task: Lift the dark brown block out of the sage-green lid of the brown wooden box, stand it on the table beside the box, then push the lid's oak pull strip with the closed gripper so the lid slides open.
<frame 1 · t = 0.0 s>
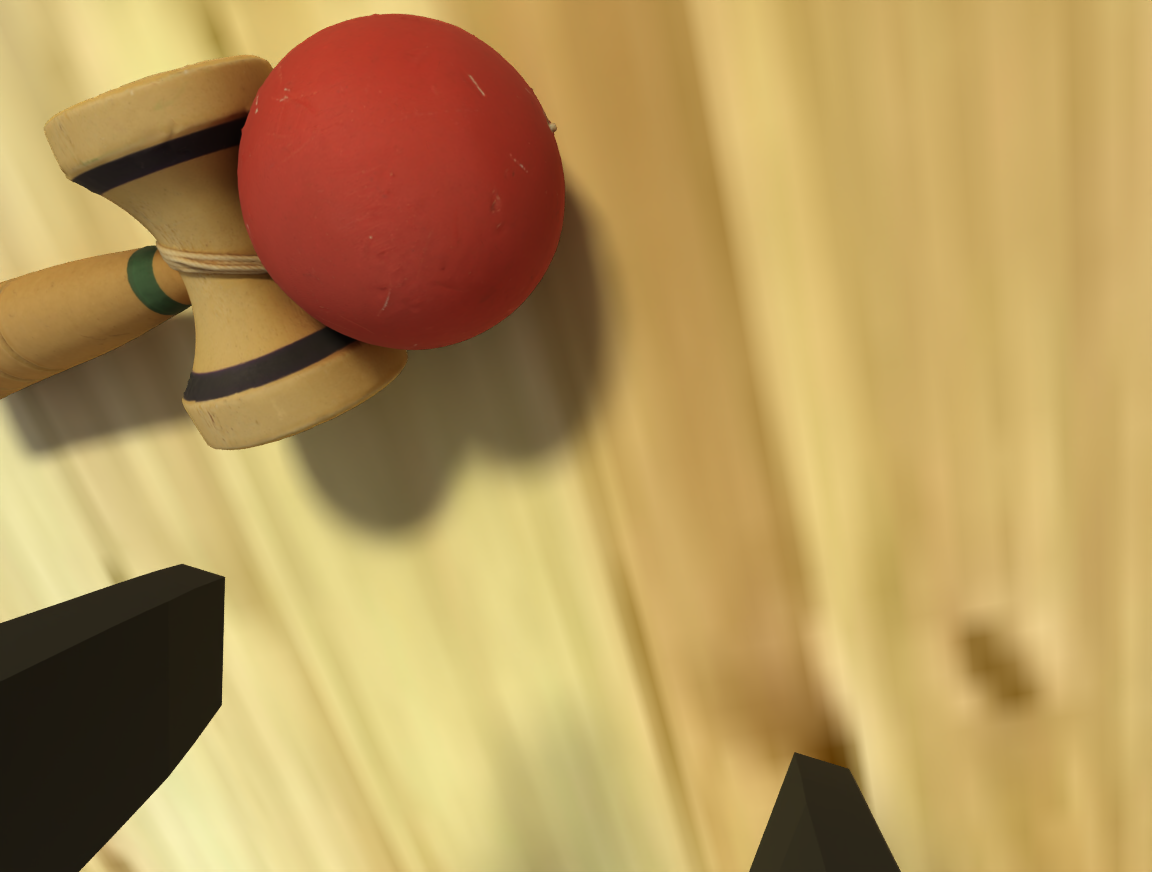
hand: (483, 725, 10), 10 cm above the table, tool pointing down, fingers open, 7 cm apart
kendama: (253, 265, 20), on the table
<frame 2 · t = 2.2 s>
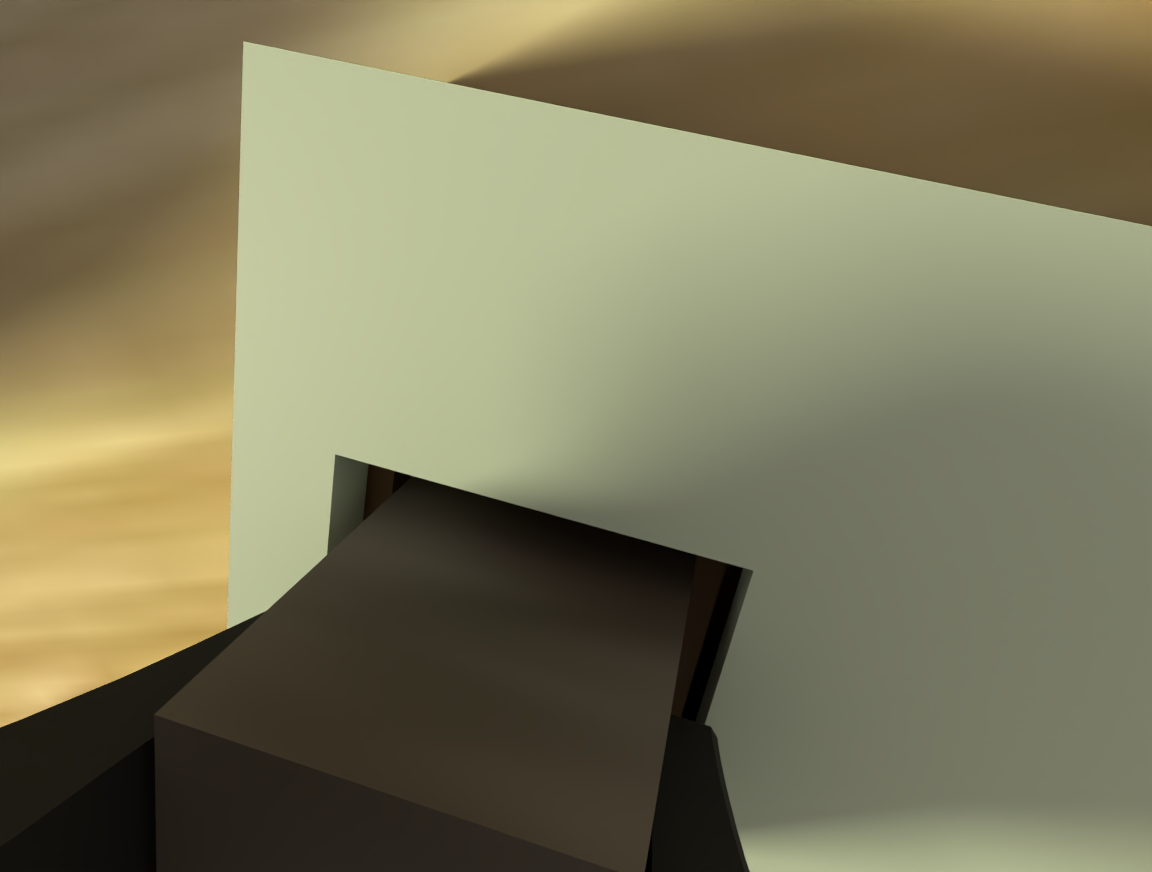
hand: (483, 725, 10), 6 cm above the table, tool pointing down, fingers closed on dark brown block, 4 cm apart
brown wooden box: (846, 578, 15), on the table
dark brown block: (544, 600, 12), point 3 cm above the table, touching gripper, brown wooden box
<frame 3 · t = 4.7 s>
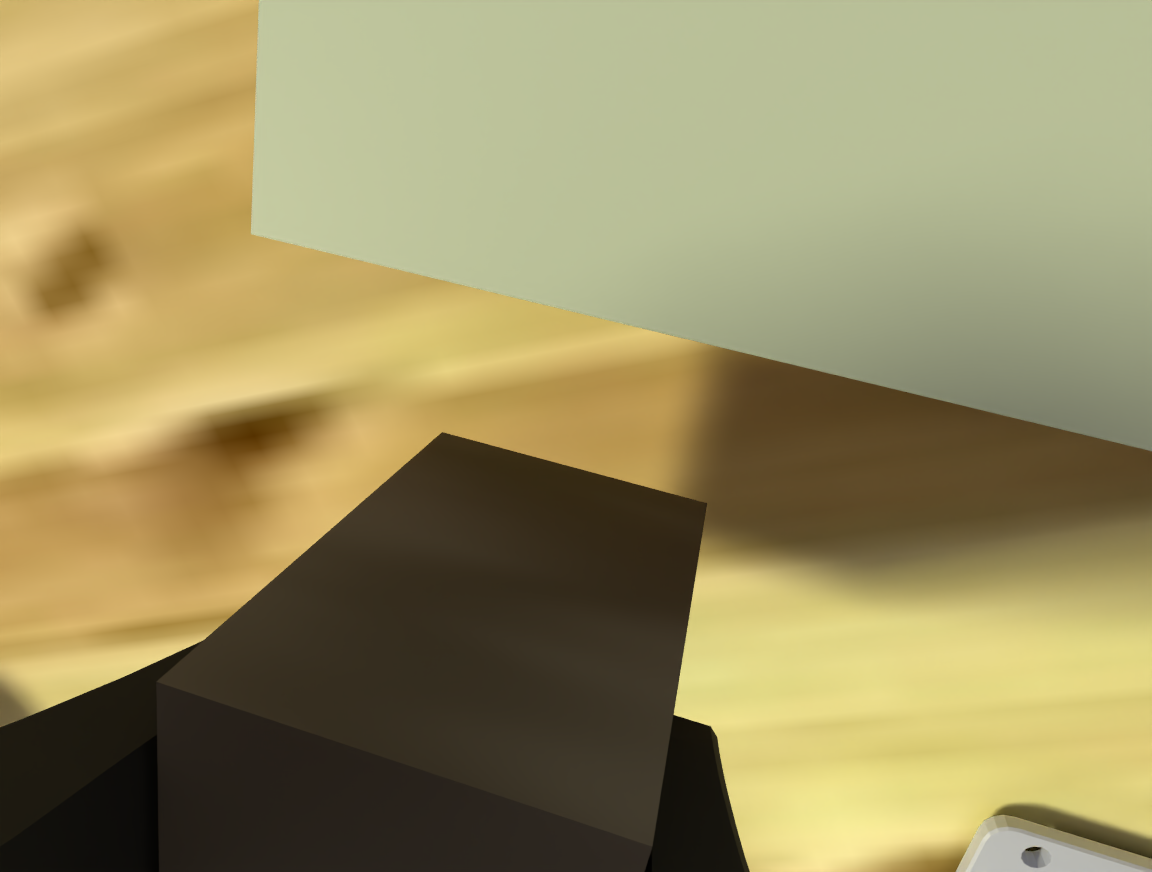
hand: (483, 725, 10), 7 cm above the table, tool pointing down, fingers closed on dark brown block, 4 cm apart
dark brown block: (547, 583, 12), point 4 cm above the table, touching gripper
when the fingers open (4 cm above the table, at t = 5.6 s): dark brown block drops 1 cm, on the table.
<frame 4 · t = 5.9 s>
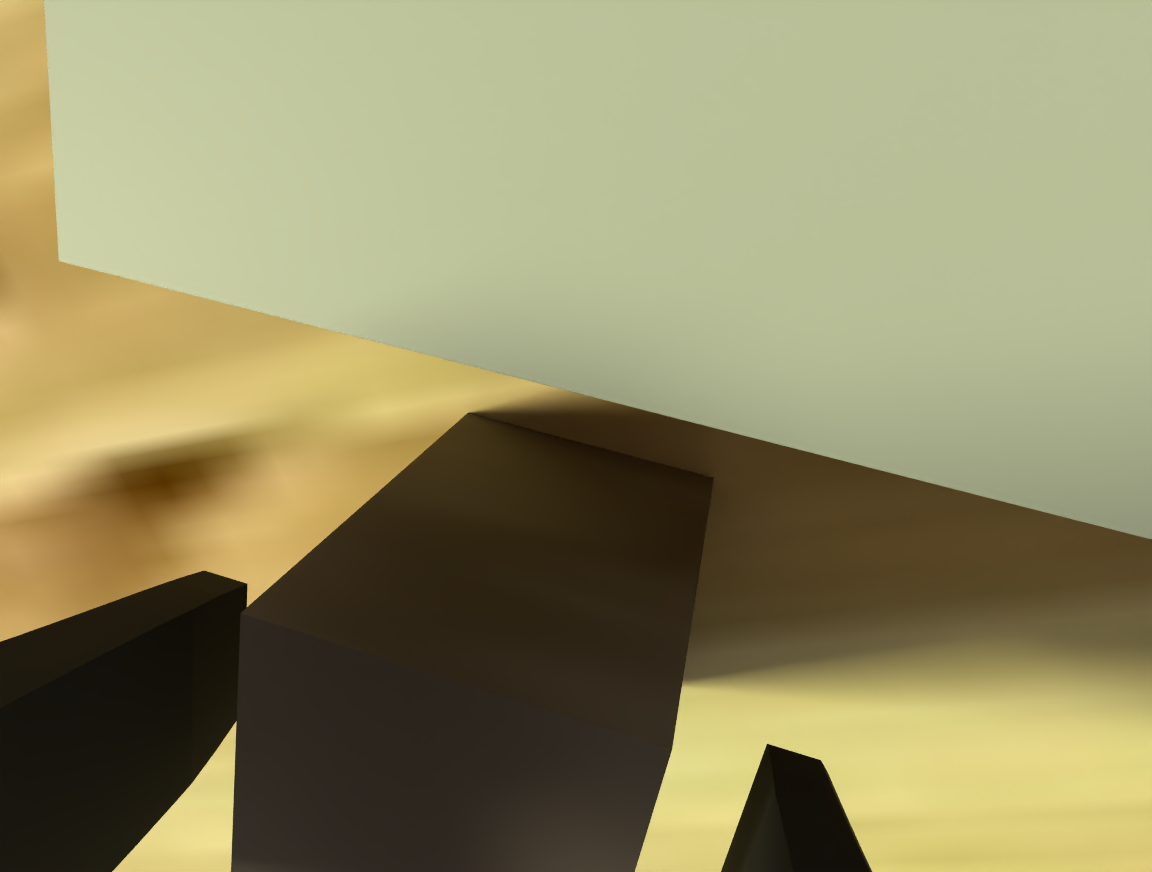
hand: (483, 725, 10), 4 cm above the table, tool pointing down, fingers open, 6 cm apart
dark brown block: (565, 553, 13), on the table
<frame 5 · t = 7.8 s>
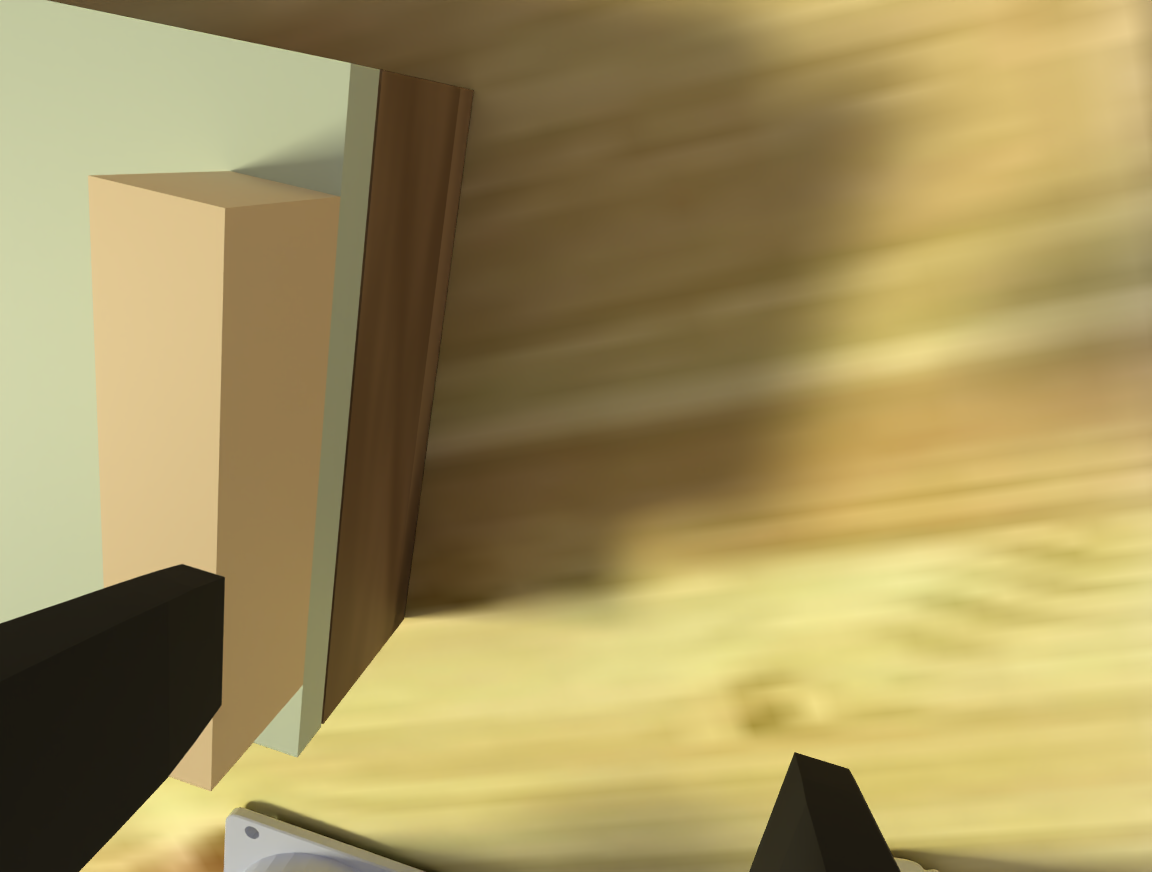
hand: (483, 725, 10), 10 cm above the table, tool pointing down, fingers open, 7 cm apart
brown wooden box: (119, 306, 21), on the table
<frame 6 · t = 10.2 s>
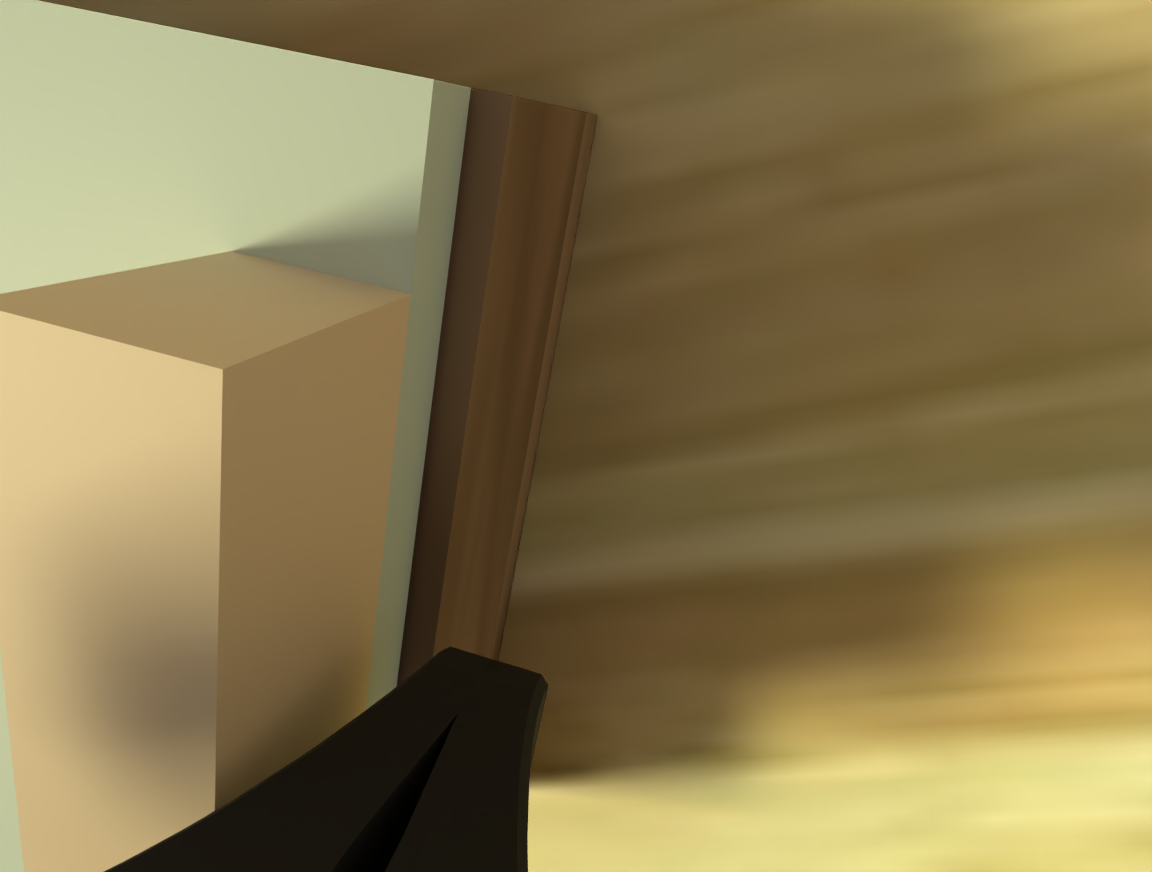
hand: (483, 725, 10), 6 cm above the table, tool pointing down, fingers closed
brown wooden box: (106, 394, 16), on the table
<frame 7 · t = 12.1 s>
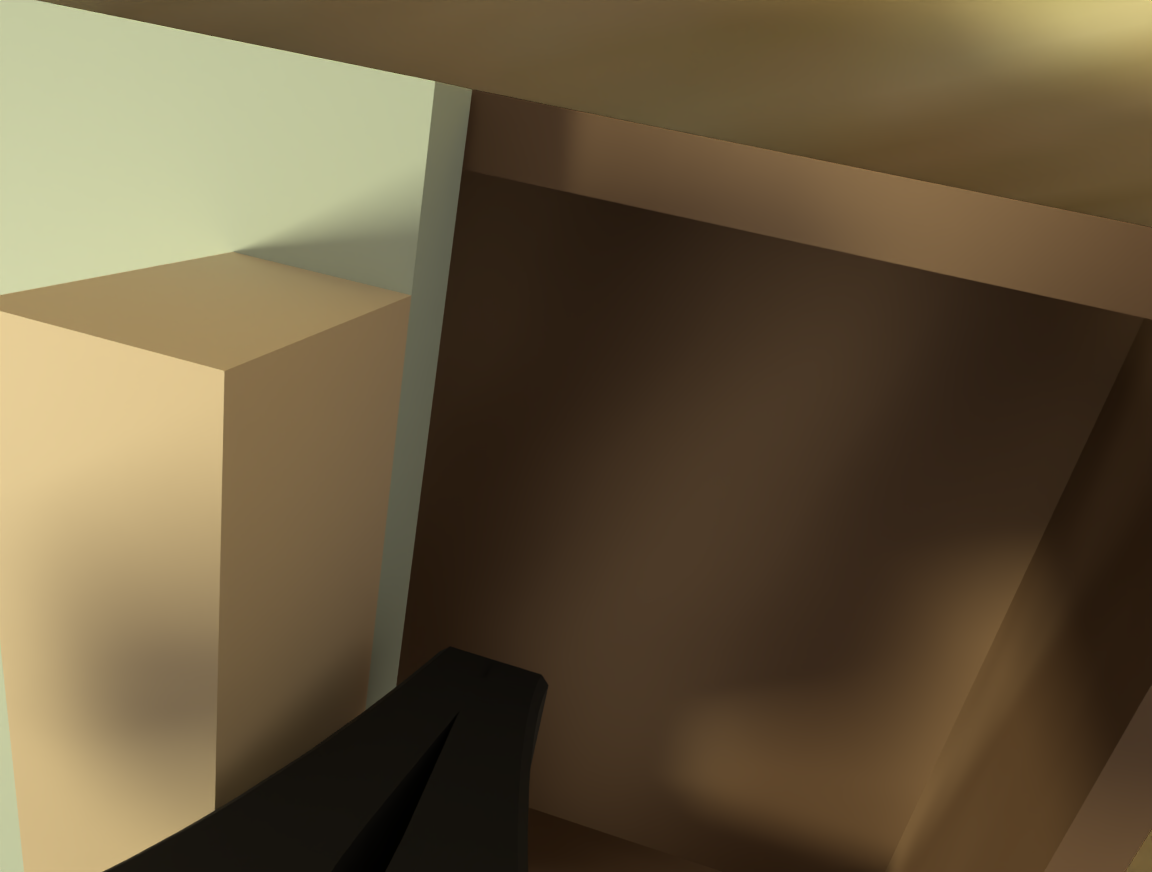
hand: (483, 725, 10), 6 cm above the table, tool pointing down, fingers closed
brown wooden box: (525, 510, 15), on the table
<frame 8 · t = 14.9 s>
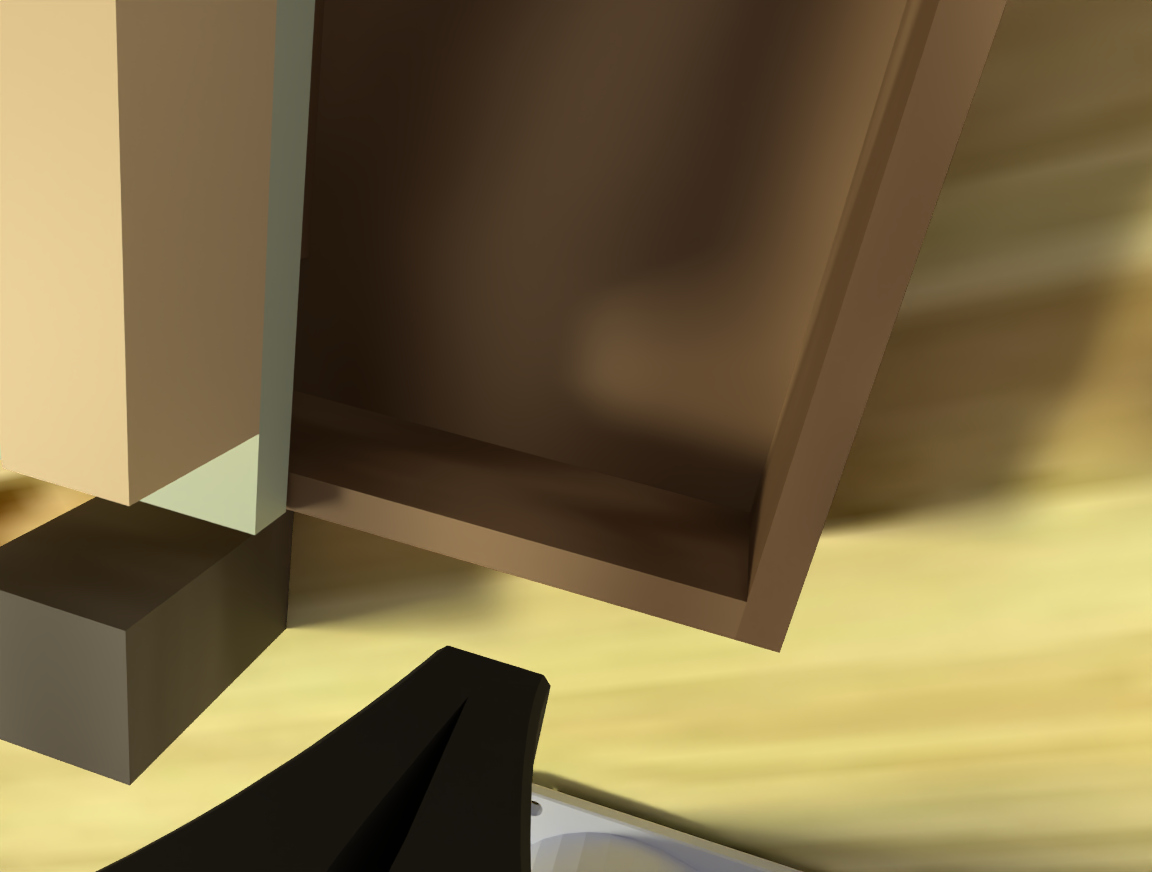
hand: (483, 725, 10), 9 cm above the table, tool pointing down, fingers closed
brown wooden box: (445, 137, 17), on the table
dark brown block: (224, 547, 22), on the table
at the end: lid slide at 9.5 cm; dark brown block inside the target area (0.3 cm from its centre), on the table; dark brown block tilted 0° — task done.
